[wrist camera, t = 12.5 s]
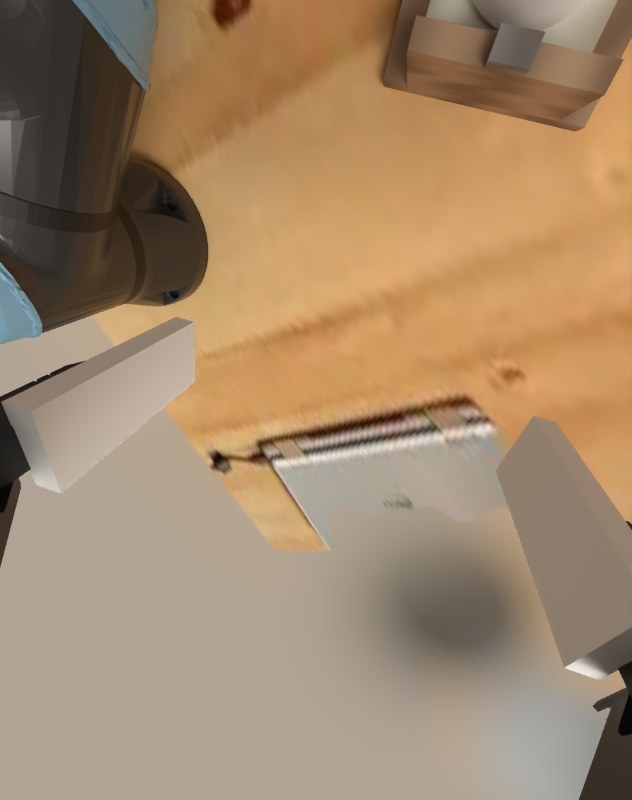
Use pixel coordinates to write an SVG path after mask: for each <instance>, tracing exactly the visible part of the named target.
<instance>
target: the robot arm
mask: <svg viewBox="0 0 632 800" xmlns="http://www.w3.org/2000/svg"><path fill="white" fill-rule="evenodd" d="M157 26H158V10H157V4H156V0H0V344H4V343H7V342H11V341H14V340H18V339H22V338H35V337H37V336H39V335H41V333H44V332H46V331H49V330H52V329H55V328H58V327H61V326H63V325H66V324H69V323H72V322H74V321H77V320H80V319H83V318H86V317H88V316H91V315H94V314H97V313H99V312H102V311H105V310H108V309H111V308H114V307H116V306H119V305H122V304H134V305H146V306H166V305H170V304H173V303H176V302H178V301H181V300H183V299H185V298H187V297H189V296H190V295H191V294H193V293H194V292H195V291H196V289H197V288H198V287H199V285H200V284H201V282H202V280H203V278H204V275H205V272H206V268H207V262H208V244H207V237H206V232H205V228H204V225H203V222H202V219H201V217H200V215H199V212H198V210H197V208H196V206H195V204H194V203H193V201H192V199H191V198H190V196H189V195H188V194H187V192H186V191H185V190H184V188H183V187H182V186H181V185H180V184H179V183H178V182H177V181H176V180H175V179H174V178H173V177H172V176H171V175H169V174H168V173H167V172H165V171H164V170H162V169H161V168H159V167H157V166H155V165H153V164H150V163H147V162H144V161H139V160H133V159H129V157H130V153H131V148H132V144H133V140H134V136H135V132H136V128H137V124H138V120H139V116H140V112H141V108H142V104H143V100H144V97H145V93H146V92H147V93H148V92H149V89H150V83H149V81H148V77H149V71H150V65H151V59H152V53H153V47H154V42H155V37H156V31H157ZM194 382H195V351H194V322H192V321H188V320H185V319H181V318H177V317H175V318H173V319H171V320H169V321H167V322H165V323H163V324H161V325H159V326H157V327H155V328H153V329H151V330H148V331H146V332H144V333H142V334H140V335H138V336H136V337H134V338H132V339H130V340H128V341H126V342H124V343H122V344H120V345H118V346H116V347H113V348H112V349H109V350H107V351H106V352H103V353H101V354H99V355H97V356H95V357H93V358H91V359H89V360H87V361H83V362H78V363H75V364H70V365H66V366H64V367H62V368H60V369H58V370H56V371H54V372H52V373H50V375H45V376H43V377H41V378H39V379H37V381H36V382H35V381H33V382H30V383H28V384H26V385H24V386H22V387H20V388H18V389H16V390H14V391H11V392H9V393H7V394H5V395H3V396H1V397H0V566H1V562H2V559H3V555H4V551H5V547H6V543H7V539H8V535H9V532H10V528H11V524H12V520H13V516H14V512H15V508H16V505H17V501H18V497H19V493H20V489H21V485H20V480H19V477H20V476H21V475H23V474H24V473H25V472H27V471H28V470H30V471H31V473H32V476H33V478H34V480H35V482H36V485H38V486H41V487H43V488H46V489H49V490H52V491H56V492H58V493H61V494H62V493H63V492H64V491H65V490H66V489H68V488H69V487H70V486H71V485H72V484H74V483H75V482H76V481H77V480H78V479H80V478H81V477H82V476H83V475H84V474H86V473H87V472H88V471H89V470H90V469H91V468H93V467H94V466H95V465H96V464H97V463H98V462H100V461H101V460H102V459H103V458H105V457H106V456H107V455H108V454H109V453H111V452H112V451H113V450H114V449H115V448H117V447H118V446H119V445H120V444H121V443H123V442H124V441H125V440H126V439H127V438H128V437H130V436H131V435H132V434H133V433H134V432H136V430H138V429H139V428H140V427H142V426H143V425H144V424H145V423H146V422H148V421H149V420H150V419H151V418H152V417H154V416H155V415H156V414H157V413H158V412H159V411H161V410H162V409H163V408H164V407H165V406H167V405H168V404H169V403H170V402H171V401H173V400H174V399H175V398H176V397H177V396H179V395H180V394H181V393H182V392H183V391H185V390H186V389H187V388H188V387H189V386H190V385H192V384H193V383H194ZM496 472H497V475H498V478H499V481H500V484H501V486H502V489H503V492H504V495H505V498H506V501H507V504H508V507H509V510H510V512H511V515H512V518H513V521H514V524H515V527H516V530H517V533H518V535H519V538H520V541H521V544H522V547H523V550H524V553H525V556H526V558H527V561H528V564H529V567H530V570H531V573H532V576H533V579H534V582H535V584H536V587H537V590H538V593H539V596H540V599H541V602H542V605H543V607H544V610H545V613H546V616H547V619H548V622H549V624H550V627H551V631H552V633H553V636H554V639H555V642H556V645H557V648H558V651H559V654H560V656H561V659H562V662H563V665H564V668H566V669H569V670H572V671H575V672H578V673H581V674H584V675H586V676H589V677H592V678H595V679H598V680H600V679H602V678H604V677H606V676H607V675H609V674H611V673H613V672H615V671H617V670H619V672H620V674H621V676H622V678H623V680H624V682H625V685H626V688H624V689H622V690H620V691H618V692H616V693H614V694H611V695H610V696H607V697H605V698H603V699H601V700H599V701H597V702H596V703H595V704H594V705H593V707H594V708H595V709H596V710H597V711H598V712H599V711H601V710H603V709H605V708H611V710H610V713H609V716H608V718H607V719H606V720H607V722H606V724H605V727H604V730H603V733H602V736H601V738H600V741H599V744H598V747H597V750H596V753H595V755H594V759H593V761H592V764H591V767H590V770H589V773H588V775H587V778H586V781H585V784H584V787H583V790H582V792H581V795H580V798H579V800H632V524H631V523H630V522H628V521H625V520H624V518H623V517H622V516H621V514H620V513H619V511H618V510H617V508H616V507H615V506H614V504H613V503H612V501H611V500H610V498H609V497H608V496H607V494H606V493H605V491H604V490H603V489H602V487H601V486H600V484H599V483H598V481H597V480H596V479H595V477H594V476H593V474H592V473H591V471H590V470H589V469H588V467H587V466H586V464H585V463H584V461H583V460H582V459H581V457H580V456H579V454H578V453H577V451H576V450H575V449H574V447H573V446H572V444H571V443H570V442H569V440H568V439H567V437H566V436H565V434H564V433H563V432H562V430H561V429H560V427H559V426H558V424H557V423H556V422H554V421H550V420H547V419H543V418H539V417H536V416H533V418H532V419H531V421H530V422H529V423H528V425H527V426H526V428H525V429H524V431H523V432H522V433H521V435H520V436H519V438H518V439H517V441H516V442H515V444H514V445H513V446H512V448H511V449H510V451H509V452H508V454H507V455H506V456H505V458H504V459H503V461H502V462H501V464H500V465H499V467H498V468H497V469H496Z"/></svg>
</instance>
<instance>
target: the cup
mask: <svg viewBox="0 0 632 800" xmlns="http://www.w3.org/2000/svg"><path fill="white" fill-rule="evenodd" d="M588 1H589V0H473V3H474V5H475V7H476V8H477V10H478V11H479V13H480V14H481V16H482V17H483V18H484V19H485V20H486V21H487V22H489V23H490V24H491V25H492V26H494V27H495V28H497V29H499V27H500V25H501V23H506V24H511V25H515V26H520V27H525V28H530V29H534V30H539V31H541V30H543V29H546V28H549V27H551V26H553V25H555V24H557V23H559V22H561V21H563V20H564V19H566V18H567V17H569V16H570V15H572V14H573V13H574V12H576V11H577V10H578V9H579V8H581V7H582V6H583V5H584V4H585V3H587V2H588Z"/></svg>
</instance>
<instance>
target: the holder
mask: <svg viewBox="0 0 632 800" xmlns="http://www.w3.org/2000/svg"><path fill="white" fill-rule="evenodd" d="M631 38H632V0H589V1H588V2H587V3H585V4H584V5H583V6H582V7H581V8H579V9H578V10H577V11H576V12H574V13H573V14H572V15H570V16H569V17H567V18H566V19H564V20H563V21H561V22H559V23H557V24H555V25H553V26H551V27H549V28H546V29H543V30H541V31H539V30H534V29H530V28H525V27H520V26H515V25H511V24H506V23H501V25H500V27H499V29H497V28H495V27H494V26H492V25H491V24H490V23H489V22H487V21H486V20H485V19H484V18H483V17H482V16H481V14H480V13H479V11H478V10H477V8H476V7H475V5H474V3H473V0H402V4H401V8H400V12H399V16H398V20H397V25H396V29H395V33H394V37H393V41H392V45H391V49H390V53H389V57H388V62H387V66H386V70H385V74H384V78H383V84H384V87H389V88H393V89H397V90H401V91H406V92H410V93H414V94H418V95H423V96H427V97H431V98H436V99H440V100H444V101H448V102H453V103H457V104H461V105H465V106H470V107H474V108H478V109H482V110H487V111H491V112H495V113H499V114H504V115H508V116H512V117H516V118H521V119H525V120H529V121H533V122H538V123H542V124H546V125H550V126H555V127H559V128H563V129H568V130H572V131H578V130H580V129H582V128H584V127H585V125H586V123H587V121H588V120H589V118H590V116H591V114H592V112H593V110H594V108H595V106H596V104H597V102H598V101H599V99H600V97H602V96H603V95H605V93H606V91H607V89H608V88H609V86H610V84H611V82H612V80H613V78H614V76H615V74H616V72H617V71H618V69H619V67H620V65H621V63H622V61H623V59H621V57H622V55H623V53H624V51H625V49H626V47H627V45H628V44H629V42H630V40H631Z"/></svg>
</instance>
